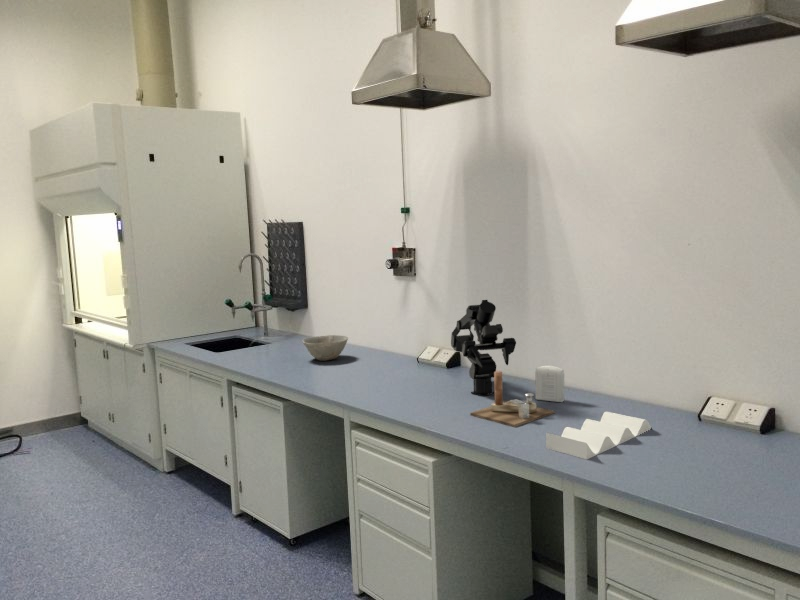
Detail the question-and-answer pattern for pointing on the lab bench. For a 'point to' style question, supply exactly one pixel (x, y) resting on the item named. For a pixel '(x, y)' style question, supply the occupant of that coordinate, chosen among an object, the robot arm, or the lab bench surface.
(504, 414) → the walnut board
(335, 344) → the ceramic bowl
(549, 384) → the white arched upright block
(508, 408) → the ash crank
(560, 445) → the white wavy rack
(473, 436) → the lab bench surface
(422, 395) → the lab bench surface
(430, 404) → the lab bench surface
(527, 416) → the pintle and keeper
